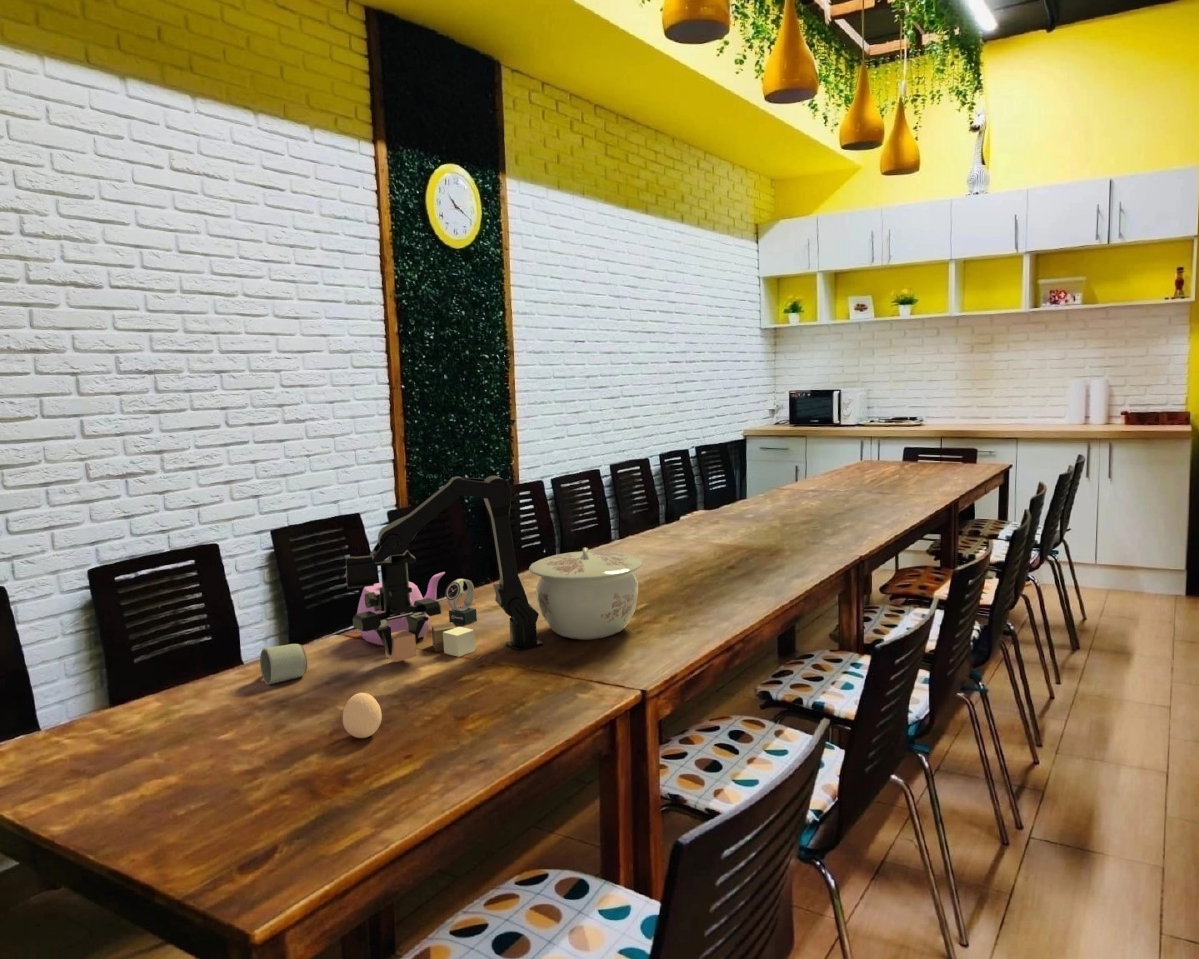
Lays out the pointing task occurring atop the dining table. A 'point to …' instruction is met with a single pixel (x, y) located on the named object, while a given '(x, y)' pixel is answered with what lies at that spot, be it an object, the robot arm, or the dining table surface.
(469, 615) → the watch
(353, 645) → the dining table surface
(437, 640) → the walnut cube
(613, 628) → the chamber pot
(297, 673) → the ceramic mug
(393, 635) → the terracotta cube
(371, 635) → the teapot
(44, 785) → the dining table surface
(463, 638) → the cream cube
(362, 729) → the egg
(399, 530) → the robot arm
